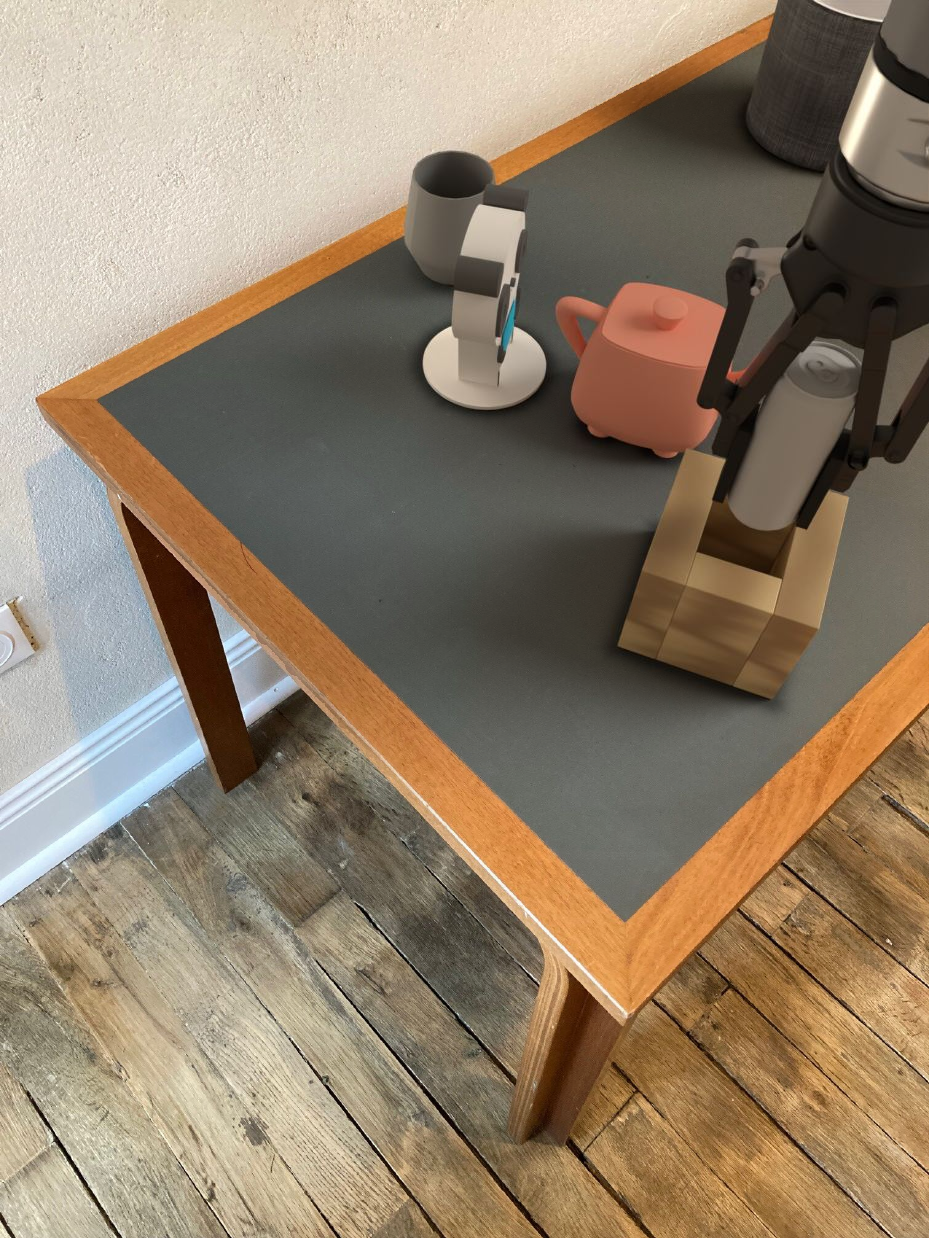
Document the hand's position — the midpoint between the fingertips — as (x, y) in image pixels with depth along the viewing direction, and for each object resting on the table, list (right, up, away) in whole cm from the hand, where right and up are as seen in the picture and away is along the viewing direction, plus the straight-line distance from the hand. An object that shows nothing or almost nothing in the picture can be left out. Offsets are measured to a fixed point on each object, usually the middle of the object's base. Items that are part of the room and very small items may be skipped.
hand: (763, 499), depth 61 cm
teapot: (-3, +10, +23) cm, 25 cm away
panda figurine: (-18, +15, +25) cm, 34 cm away
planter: (+22, +49, +47) cm, 72 cm away
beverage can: (0, -1, +1) cm, 1 cm away
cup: (-21, +27, +33) cm, 47 cm away
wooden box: (0, -7, +12) cm, 14 cm away
